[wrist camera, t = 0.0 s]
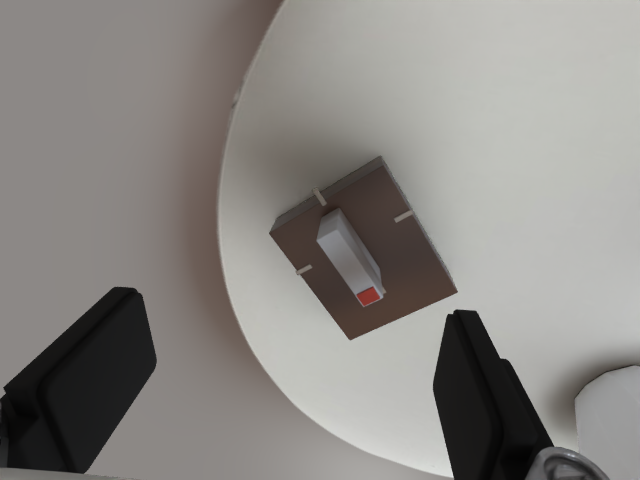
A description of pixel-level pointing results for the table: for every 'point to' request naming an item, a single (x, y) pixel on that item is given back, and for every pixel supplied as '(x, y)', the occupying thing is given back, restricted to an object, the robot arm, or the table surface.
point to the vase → (611, 423)
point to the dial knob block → (380, 240)
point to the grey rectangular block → (350, 257)
